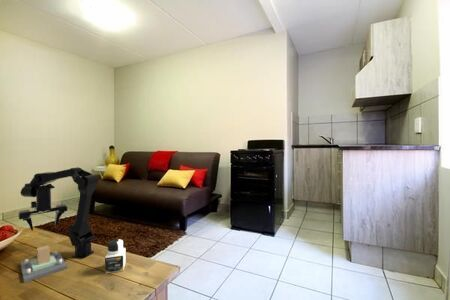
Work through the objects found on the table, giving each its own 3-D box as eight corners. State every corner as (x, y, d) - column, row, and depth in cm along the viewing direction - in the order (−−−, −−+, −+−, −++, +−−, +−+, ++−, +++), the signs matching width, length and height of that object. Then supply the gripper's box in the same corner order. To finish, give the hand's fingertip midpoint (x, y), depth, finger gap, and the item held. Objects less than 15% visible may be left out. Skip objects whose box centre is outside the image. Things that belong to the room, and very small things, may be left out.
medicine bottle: (104, 273, 93) (104, 245, 92) (108, 265, 99) (108, 238, 99) (123, 271, 95) (123, 243, 94) (125, 262, 101) (125, 236, 101)
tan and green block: (56, 263, 98) (56, 247, 98) (32, 271, 92) (32, 254, 92) (53, 257, 104) (53, 242, 103) (30, 264, 98) (30, 248, 98)
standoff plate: (67, 268, 97) (66, 261, 97) (24, 282, 87) (23, 274, 87) (59, 254, 109) (59, 247, 109) (20, 265, 99) (20, 258, 99)
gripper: (62, 192, 124) (63, 219, 124) (17, 197, 110) (17, 228, 110) (67, 195, 116) (67, 224, 116) (18, 202, 102) (19, 235, 103)
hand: (44, 228), depth 112 cm, fingers open, 9 cm apart
